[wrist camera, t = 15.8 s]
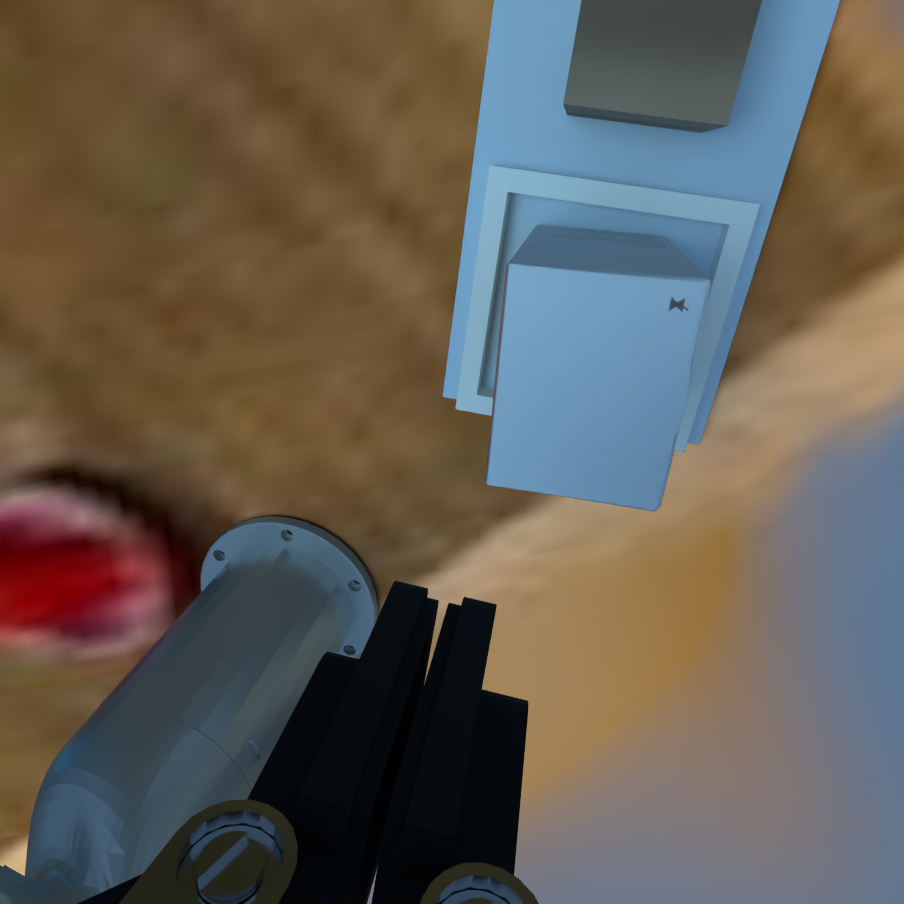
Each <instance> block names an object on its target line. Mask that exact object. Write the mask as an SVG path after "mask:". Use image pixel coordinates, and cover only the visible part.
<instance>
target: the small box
mask: <svg viewBox="0 0 904 904" xmlns="http://www.w3.org/2000/svg"><path fill="white" fill-rule="evenodd" d="M710 285H711V281H710V279H709V278H708V277H707V276H705V275H704V274H703V273H702V272H701V271H700V270H699V269H698V268H697V267H696V266H695V265H694V264H693V263H692V262H691V261H690V260H689V259H688V258H687V257H686V256H685V255H683V253H681V252H680V250H679V249H678V248H676V247H675V246H674V245H673V244H672V243H671V242H670V241H669V240H668V239H667V238H666V237H665V236H657V235H646V234H634V233H623V232H612V231H601V230H590V229H579V228H569V227H559V226H547V225H536V226H535V228H534V229H533V230H532V232H531V233H530V235H529V236H528V237H527V239H526V240H525V241H524V243H523V244H522V245H521V247H520V248H519V250H518V251H517V253H516V254H515V255H514V257H513V258H512V259H511V261H510V262H509V263H508V264H507V267H506V273H505V282H504V292H503V302H502V312H501V322H500V331H499V341H498V352H497V363H496V373H495V384H494V393H493V404H492V416H491V428H490V438H489V446H488V457H487V470H486V484H487V485H491V486H497V487H504V488H511V489H518V490H525V491H532V492H538V493H544V494H550V495H557V496H563V497H569V498H575V499H581V500H588V501H594V502H600V503H606V504H612V505H618V506H625V507H631V508H637V509H643V510H648V511H656V510H657V509H658V508H659V507H660V505H661V501H662V497H663V493H664V489H665V485H666V482H667V478H668V474H669V470H670V466H671V461H672V457H673V453H674V449H675V445H676V441H677V437H678V433H679V429H680V425H681V421H682V418H683V415H684V411H685V408H686V404H687V399H688V394H689V389H690V385H691V381H692V376H693V367H694V361H695V356H696V351H697V346H698V341H699V337H700V332H701V328H702V323H703V319H704V314H705V309H706V304H707V300H708V295H709V290H710Z"/></svg>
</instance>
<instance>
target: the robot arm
mask: <svg viewBox="0 0 904 904" xmlns="http://www.w3.org/2000/svg"><path fill="white" fill-rule="evenodd" d="M200 581H201V593H200V594H199V596H198V597H197V598H196V599H195V600H194V601H193V602H192V603H191V604H190V606H189V607H188V608H187V609H186V610H185V611H184V612H183V613H182V614H181V616H180V617H179V618H178V619H177V620H176V621H175V622H174V623H173V625H172V626H171V627H170V628H169V629H168V630H167V631H166V632H165V633H164V635H163V636H162V637H161V638H160V639H159V640H158V641H157V642H156V643H155V645H154V646H153V647H152V648H151V649H150V650H149V651H148V652H147V653H146V655H145V656H144V657H143V658H142V659H141V660H140V661H139V662H138V663H137V665H136V666H135V667H134V668H133V669H132V670H131V671H130V672H129V674H128V675H127V676H126V677H125V678H124V679H123V680H122V681H121V682H120V684H119V685H118V686H117V687H116V688H115V689H114V690H113V691H112V692H111V694H110V695H109V696H108V697H107V698H106V699H105V700H104V701H103V702H102V704H101V705H100V706H99V707H98V708H97V709H96V710H95V711H94V713H93V714H92V715H91V716H90V717H89V718H88V720H87V721H86V722H85V723H84V724H83V725H82V726H81V727H80V728H79V729H78V731H77V732H76V733H75V734H74V735H73V736H72V737H71V738H70V740H69V741H68V742H67V743H66V744H65V746H64V747H63V748H62V749H61V750H60V752H59V753H58V755H57V756H56V758H55V759H54V761H53V762H52V764H51V766H50V768H49V769H48V771H47V773H46V775H45V777H44V780H43V782H42V784H41V787H40V789H39V792H38V795H37V798H36V801H35V805H34V809H33V813H32V818H31V824H30V831H29V838H28V846H27V858H26V869H25V876H23V875H21V874H20V873H18V872H16V871H14V870H12V869H11V868H9V867H7V866H6V865H4V866H3V867H2V866H0V904H367V901H368V898H369V894H370V891H371V887H372V884H373V880H374V877H375V873H376V870H377V874H376V880H375V887H374V893H373V898H372V904H539V903H538V902H537V900H536V898H535V896H534V894H533V893H532V892H531V891H530V890H529V889H528V888H527V887H526V886H525V885H524V884H523V883H522V882H521V880H519V879H518V878H517V877H515V876H514V868H515V856H516V844H517V832H518V821H519V810H520V798H521V787H522V776H523V763H524V752H525V741H526V740H525V739H526V729H527V728H526V727H527V717H528V701H527V700H522V699H518V698H514V697H510V696H506V695H502V694H498V693H494V692H490V691H486V690H482V684H483V678H484V673H485V667H486V662H487V656H488V651H489V645H490V640H491V634H492V629H493V623H494V617H495V612H496V606H497V605H496V604H492V603H488V602H484V601H479V600H475V599H471V598H466V597H464V598H463V602H462V605H461V606H460V605H456V604H452V603H449V604H448V607H447V610H446V614H445V617H444V620H443V624H442V627H441V631H440V634H439V637H438V641H437V644H436V647H435V651H434V654H433V658H432V661H431V664H430V668H429V671H428V675H427V678H426V681H425V677H426V671H427V665H428V660H429V654H430V648H431V643H432V637H433V632H434V626H435V620H436V615H437V609H438V602H439V601H438V600H435V599H430V598H427V595H428V588H424V587H419V586H415V585H411V584H407V583H402V582H398V581H395V582H394V583H393V585H392V587H391V589H390V592H389V594H388V596H387V598H386V601H385V603H384V605H383V607H382V610H381V612H380V614H379V616H378V619H377V613H378V605H377V597H376V592H375V589H374V586H373V583H372V580H371V578H370V576H369V575H368V573H367V571H366V569H365V568H364V566H363V564H362V563H361V562H360V561H359V559H358V558H357V557H356V556H355V554H354V553H353V552H352V551H351V550H350V549H349V548H348V547H347V546H345V545H344V544H343V543H342V542H341V541H340V540H339V539H337V538H336V537H334V536H332V535H331V534H329V533H328V532H326V531H325V530H323V529H321V528H319V527H316V526H314V525H312V524H309V523H307V522H304V521H300V520H296V519H292V518H289V517H277V516H267V517H257V518H253V519H250V520H246V521H243V522H240V523H239V524H237V525H235V526H233V527H232V528H230V529H228V530H227V531H226V532H225V533H224V534H223V535H222V536H221V537H220V538H219V539H218V540H217V541H216V542H215V543H214V544H213V545H212V546H211V547H210V549H209V550H208V553H207V555H206V557H205V559H204V561H203V564H202V570H201V575H200ZM361 653H362V654H361ZM360 654H361V657H360V659H357V657H358V656H359V655H360ZM424 682H425V685H424ZM377 866H378V868H377Z"/></svg>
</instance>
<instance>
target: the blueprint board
mask: <svg viewBox="0 0 904 904" xmlns="http://www.w3.org/2000/svg"><path fill="white" fill-rule="evenodd" d="M839 2H840V0H762V3H761V6H760V10H759V14H758V17H757V21H756V24H755V28H754V32H753V35H752V39H751V43H750V46H749V50H748V54H747V57H746V61H745V65H744V68H743V72H742V75H741V79H740V83H739V86H738V90H737V94H736V97H735V101H734V105H733V108H732V112H731V116H730V119H729V123H728V126H725V127H721V128H718V129H714V130H710V131H707V132H703V133H697V132H690V131H682V130H675V129H667V128H660V127H652V126H645V125H637V124H630V123H622V122H615V121H607V120H600V119H592V118H585V117H577V116H570V115H567V114H566V111H565V108H564V105H563V102H564V96H565V91H566V85H567V79H568V74H569V68H570V62H571V57H572V51H573V45H574V40H575V34H576V28H577V23H578V17H579V11H580V6H581V0H494V6H493V14H492V22H491V29H490V37H489V45H488V52H487V60H486V68H485V75H484V83H483V91H482V98H481V106H480V114H479V122H478V129H477V137H476V145H475V152H474V160H473V168H472V175H471V183H470V191H469V198H468V206H467V214H466V222H465V229H464V237H463V245H462V252H461V260H460V268H459V275H458V283H457V291H456V298H455V306H454V314H453V322H452V329H451V337H450V345H449V352H448V360H447V368H446V375H445V383H444V391H443V397H447V398H453V399H457V402H456V409H458V410H463V411H469V412H474V413H479V414H485V415H490V416H492V404H493V393H494V384H495V373H496V363H497V352H498V341H499V331H500V322H501V312H502V302H503V292H504V282H505V273H506V267H507V264H508V263H509V262H510V261H511V259H512V258H513V257H514V255H515V254H516V253H517V251H518V250H519V248H520V247H521V245H522V244H523V243H524V241H525V240H526V239H527V237H528V236H529V235H530V233H531V232H532V230H533V229H534V228H535V226H536V225H547V226H559V227H569V228H579V229H590V230H601V231H612V232H623V233H634V234H646V235H657V236H665V237H666V238H667V239H668V240H669V241H670V242H671V243H672V244H673V245H674V246H675V247H676V248H678V249H679V250H680V252H681V253H683V255H685V256H686V257H687V258H688V259H689V260H690V261H691V262H692V263H693V264H694V265H695V266H696V267H697V268H698V269H699V270H700V271H701V272H702V273H703V274H704V275H705V276H707V277H708V278H709V279H710V281H711V285H710V290H709V295H708V300H707V304H706V309H705V314H704V319H703V323H702V328H701V332H700V337H699V341H698V346H697V351H696V356H695V361H694V367H693V376H692V381H691V385H690V389H689V394H688V399H687V404H686V408H685V411H684V415H683V418H682V421H681V425H680V429H679V433H678V437H677V441H676V445H675V449H674V450H676V451H681V452H684V451H685V448H686V444H687V442H689V443H694V444H700V441H701V438H702V435H703V431H704V428H705V425H706V422H707V419H708V416H709V413H710V409H711V406H712V403H713V400H714V397H715V394H716V390H717V387H718V384H719V381H720V378H721V375H722V371H723V368H724V365H725V362H726V359H727V356H728V352H729V349H730V346H731V343H732V340H733V337H734V334H735V330H736V327H737V324H738V321H739V318H740V315H741V311H742V308H743V305H744V302H745V299H746V296H747V292H748V289H749V286H750V283H751V280H752V277H753V273H754V270H755V267H756V264H757V261H758V258H759V255H760V251H761V248H762V245H763V242H764V239H765V236H766V232H767V229H768V226H769V223H770V220H771V217H772V213H773V210H774V207H775V204H776V201H777V198H778V194H779V191H780V188H781V185H782V182H783V179H784V176H785V172H786V169H787V166H788V163H789V160H790V157H791V153H792V150H793V147H794V144H795V141H796V138H797V134H798V131H799V128H800V125H801V122H802V119H803V116H804V112H805V109H806V106H807V103H808V100H809V97H810V93H811V90H812V87H813V84H814V81H815V78H816V74H817V71H818V68H819V65H820V62H821V59H822V55H823V52H824V49H825V46H826V43H827V40H828V37H829V33H830V30H831V27H832V24H833V21H834V18H835V14H836V11H837V8H838V5H839Z"/></svg>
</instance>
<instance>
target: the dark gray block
mask: <svg viewBox="0 0 904 904" xmlns="http://www.w3.org/2000/svg"><path fill="white" fill-rule="evenodd" d="M761 3H762V0H581V6H580V11H579V17H578V23H577V28H576V34H575V40H574V45H573V51H572V57H571V62H570V68H569V74H568V79H567V85H566V91H565V96H564V102H563V105H564V108H565V111H566V114H567V115H570V116H577V117H585V118H592V119H600V120H607V121H615V122H622V123H630V124H637V125H645V126H652V127H660V128H667V129H675V130H682V131H690V132H697V133H703V132H707V131H710V130H714V129H718V128H721V127H725V126H728V123H729V119H730V116H731V112H732V108H733V105H734V101H735V97H736V94H737V90H738V86H739V83H740V79H741V75H742V72H743V68H744V65H745V61H746V57H747V54H748V50H749V46H750V43H751V39H752V35H753V32H754V28H755V24H756V21H757V17H758V14H759V10H760V6H761Z"/></svg>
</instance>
